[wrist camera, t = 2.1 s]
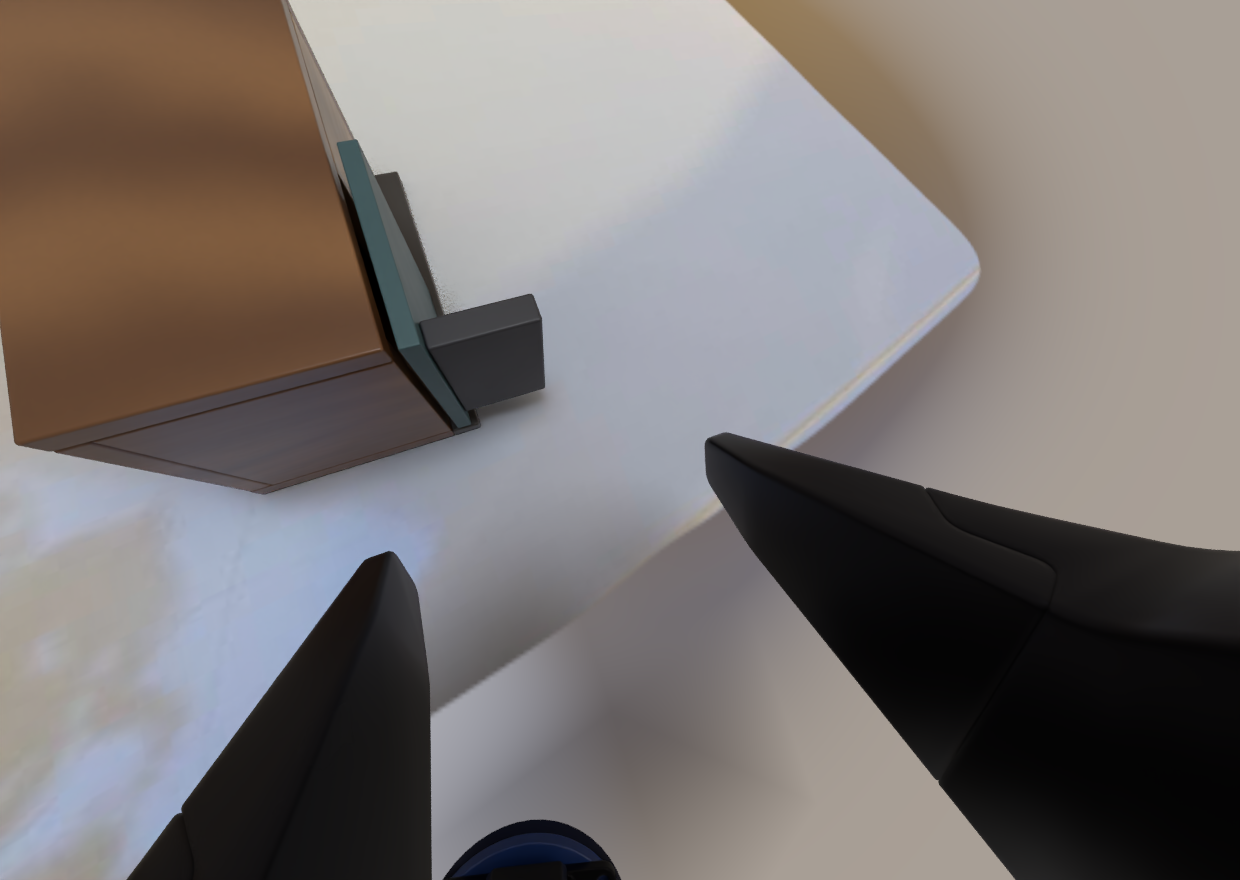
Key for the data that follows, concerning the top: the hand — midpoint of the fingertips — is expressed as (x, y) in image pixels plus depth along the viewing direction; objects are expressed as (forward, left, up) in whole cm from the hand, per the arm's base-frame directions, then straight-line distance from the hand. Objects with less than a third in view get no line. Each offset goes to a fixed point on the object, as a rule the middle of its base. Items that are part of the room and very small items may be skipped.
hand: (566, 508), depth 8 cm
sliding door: (+9, +4, -12) cm, 15 cm away
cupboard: (+10, +11, -13) cm, 19 cm away
